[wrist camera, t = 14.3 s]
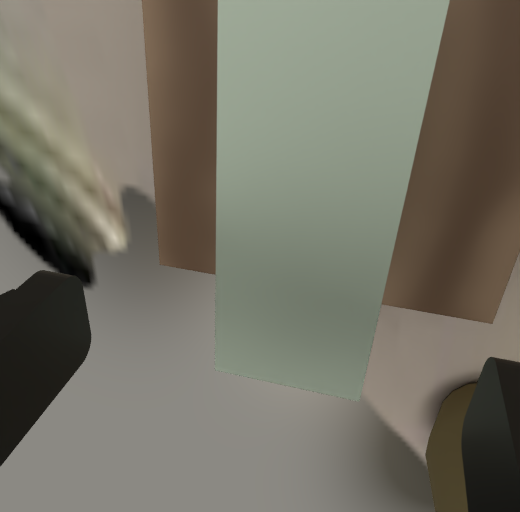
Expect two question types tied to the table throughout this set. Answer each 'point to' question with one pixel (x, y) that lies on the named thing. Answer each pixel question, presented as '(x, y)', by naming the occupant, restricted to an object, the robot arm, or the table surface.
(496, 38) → the platform
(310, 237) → the stool
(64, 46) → the table surface
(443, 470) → the squeeze bottle
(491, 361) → the robot arm
